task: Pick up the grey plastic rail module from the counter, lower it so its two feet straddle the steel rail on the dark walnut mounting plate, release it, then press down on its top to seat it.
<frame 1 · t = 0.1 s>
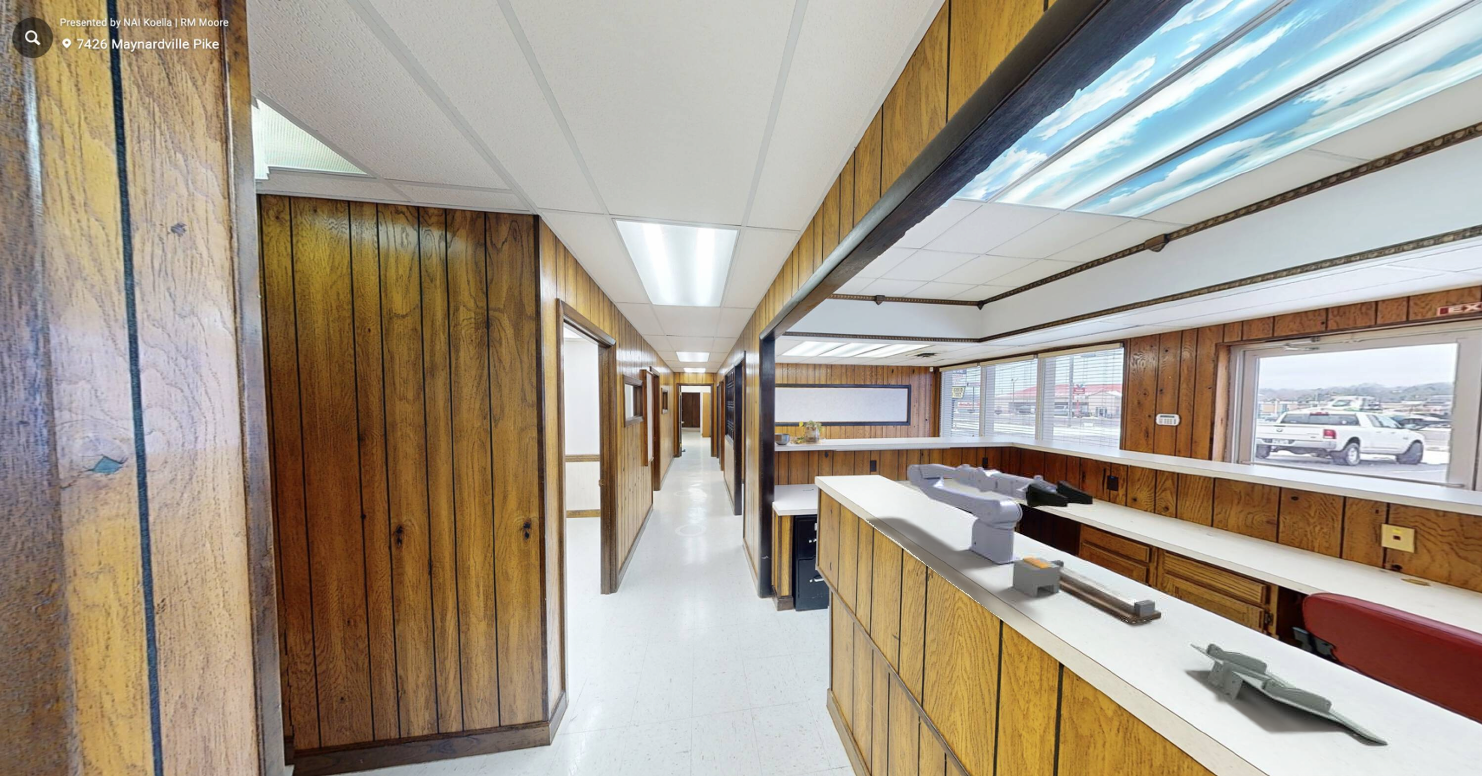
hand: (1079, 501, 84), 22 cm above the counter, tool horizontal, fingers open, 7 cm apart
din rail: (1095, 585, 85), on the mounting plate, point 2 cm above the counter
rail module: (1035, 589, 87), on the counter
metal bracket: (1265, 697, 59), on the counter
mounting plate: (1094, 595, 86), on the counter
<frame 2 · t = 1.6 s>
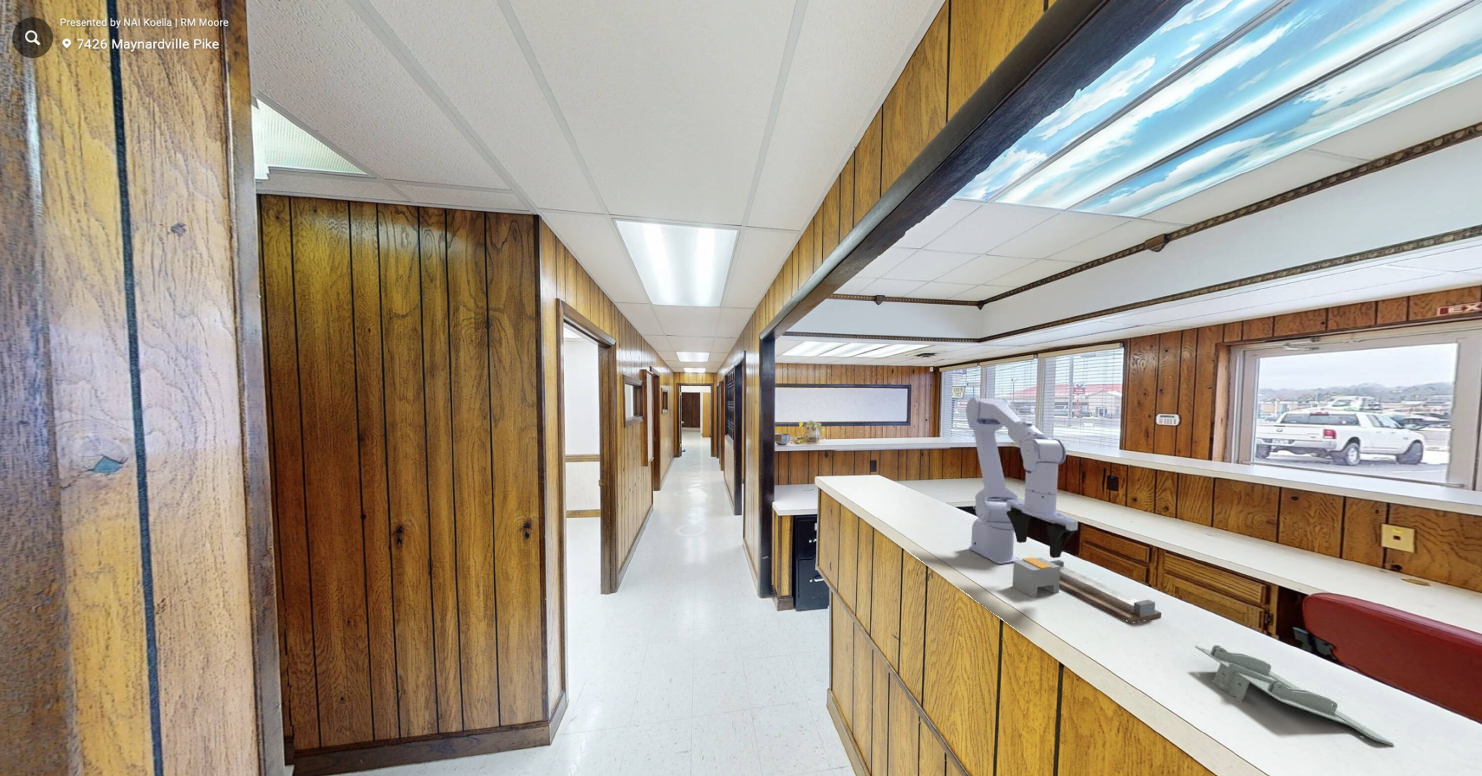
hand: (1037, 549, 87), 9 cm above the counter, tool pointing down, fingers open, 7 cm apart
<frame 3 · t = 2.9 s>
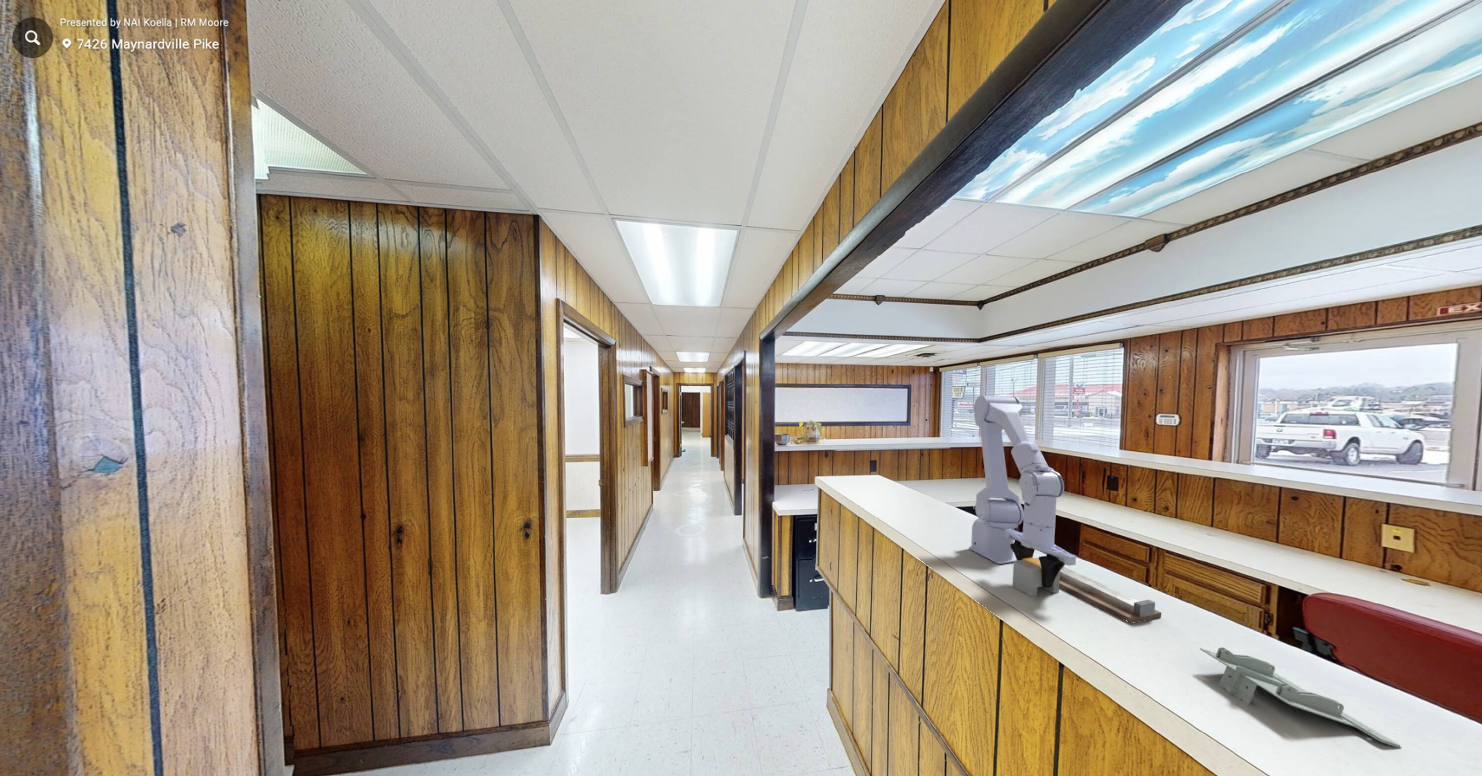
hand: (1035, 581, 87), 2 cm above the counter, tool pointing down, fingers closed on rail module, 4 cm apart
rail module: (1035, 589, 87), on the counter, touching gripper
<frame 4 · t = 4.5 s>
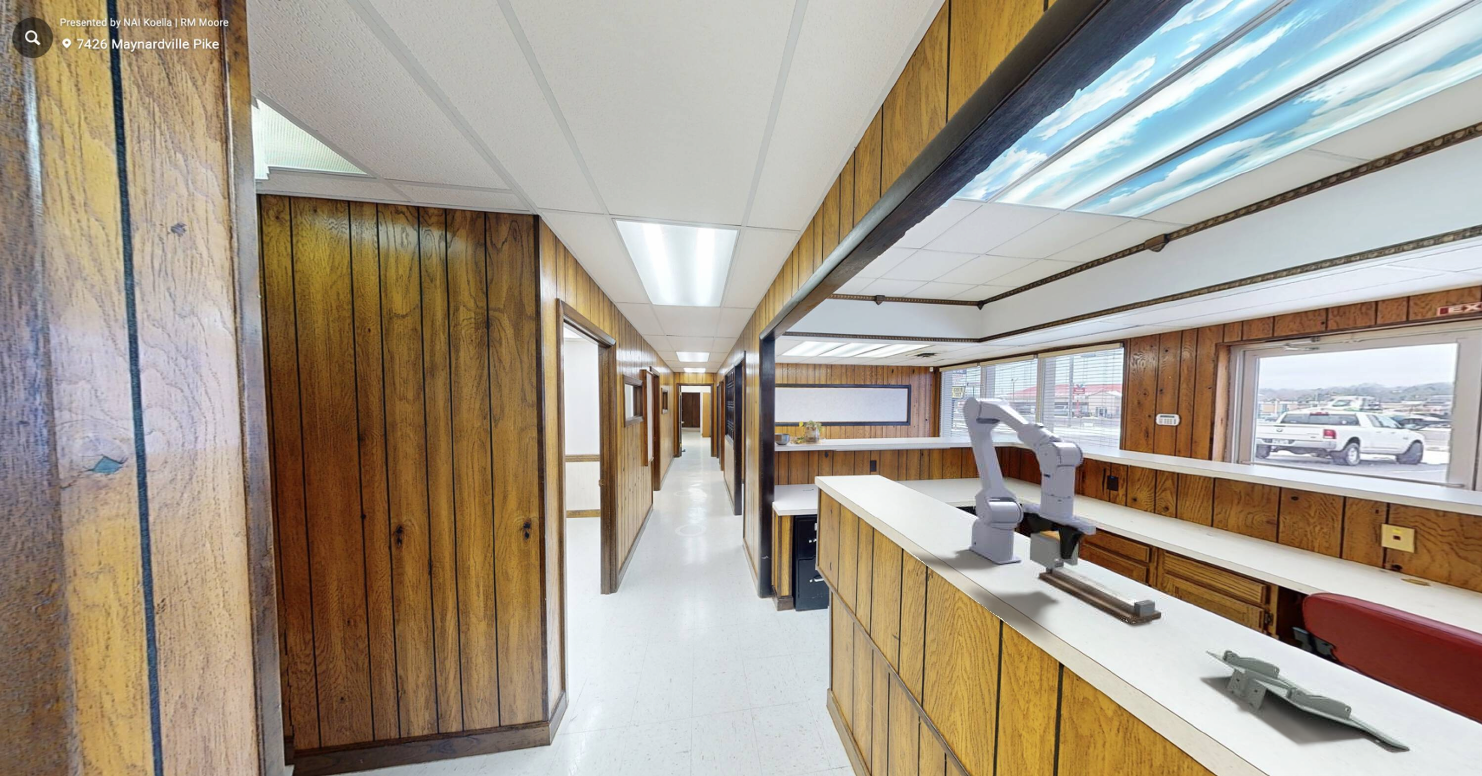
hand: (1054, 553, 86), 9 cm above the counter, tool pointing down, fingers closed on rail module, 4 cm apart
rail module: (1053, 562, 86), point 7 cm above the counter, touching gripper
when the fingers open (4 cm above the counter, at t = 6.4 s): rail module stays where it is, resting on mounting plate.
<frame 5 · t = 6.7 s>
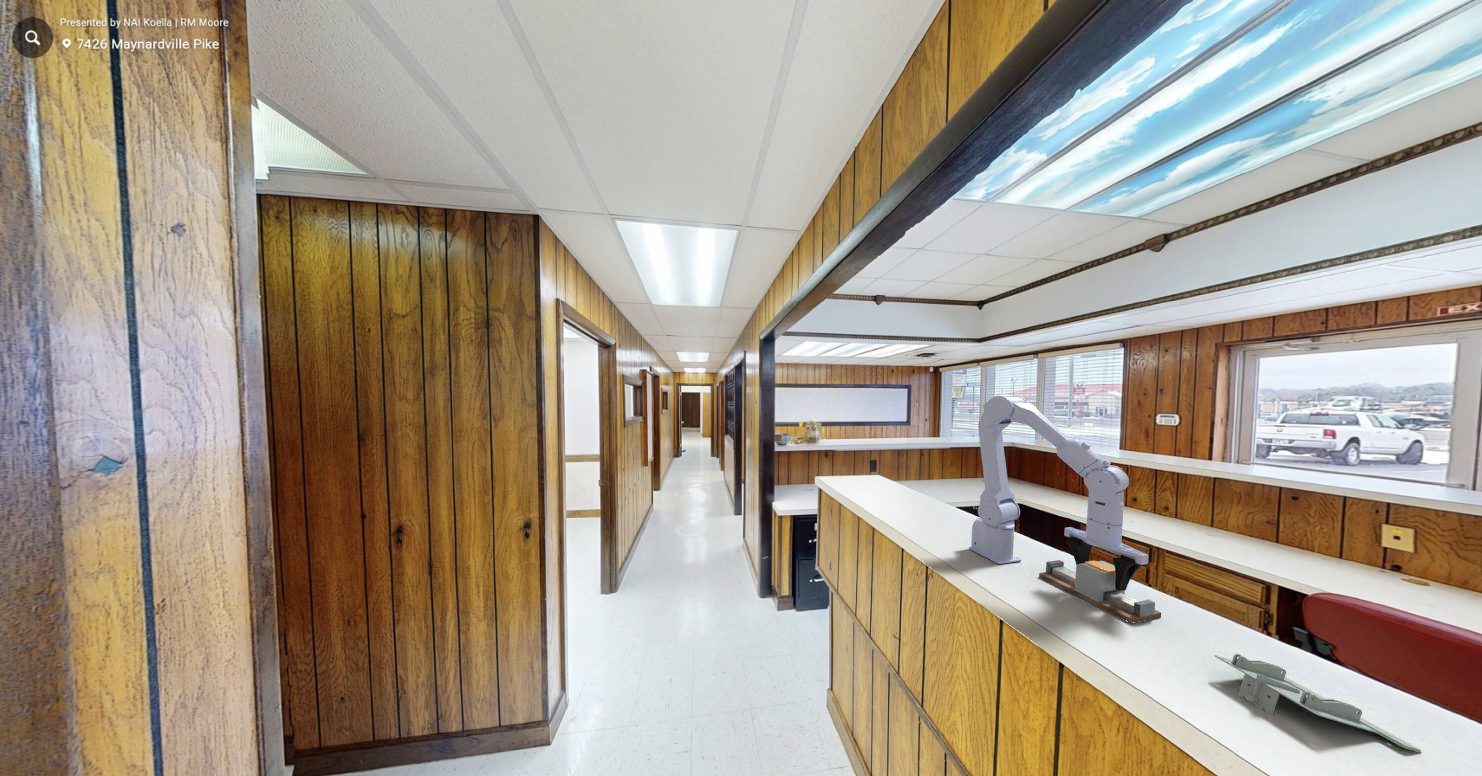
hand: (1100, 580, 84), 4 cm above the counter, tool pointing down, fingers open, 7 cm apart
rail module: (1099, 593, 84), point 1 cm above the counter, touching mounting plate
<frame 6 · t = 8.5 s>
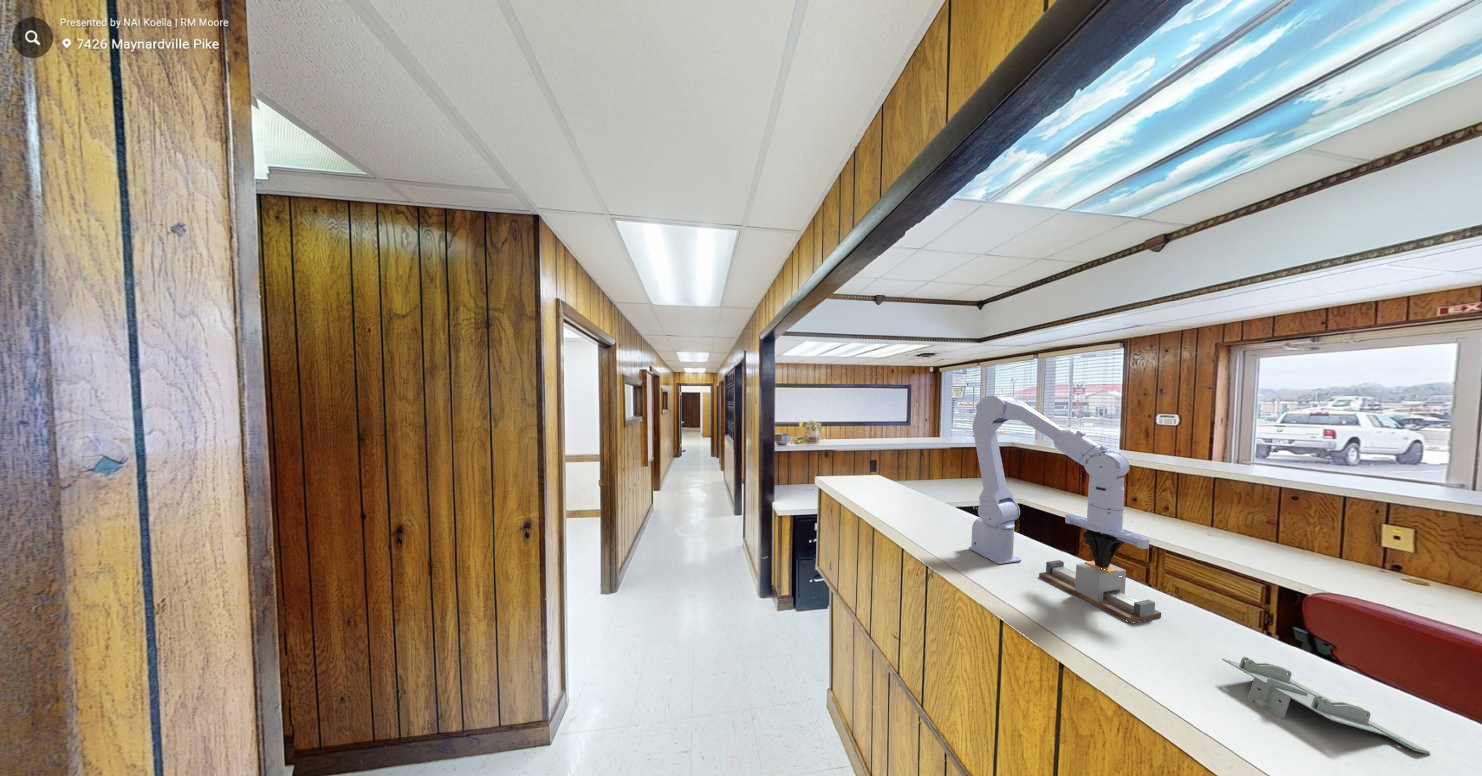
hand: (1102, 566, 84), 7 cm above the counter, tool pointing down, fingers closed, pressing on rail module
rail module: (1099, 593, 84), point 1 cm above the counter, touching gripper, mounting plate
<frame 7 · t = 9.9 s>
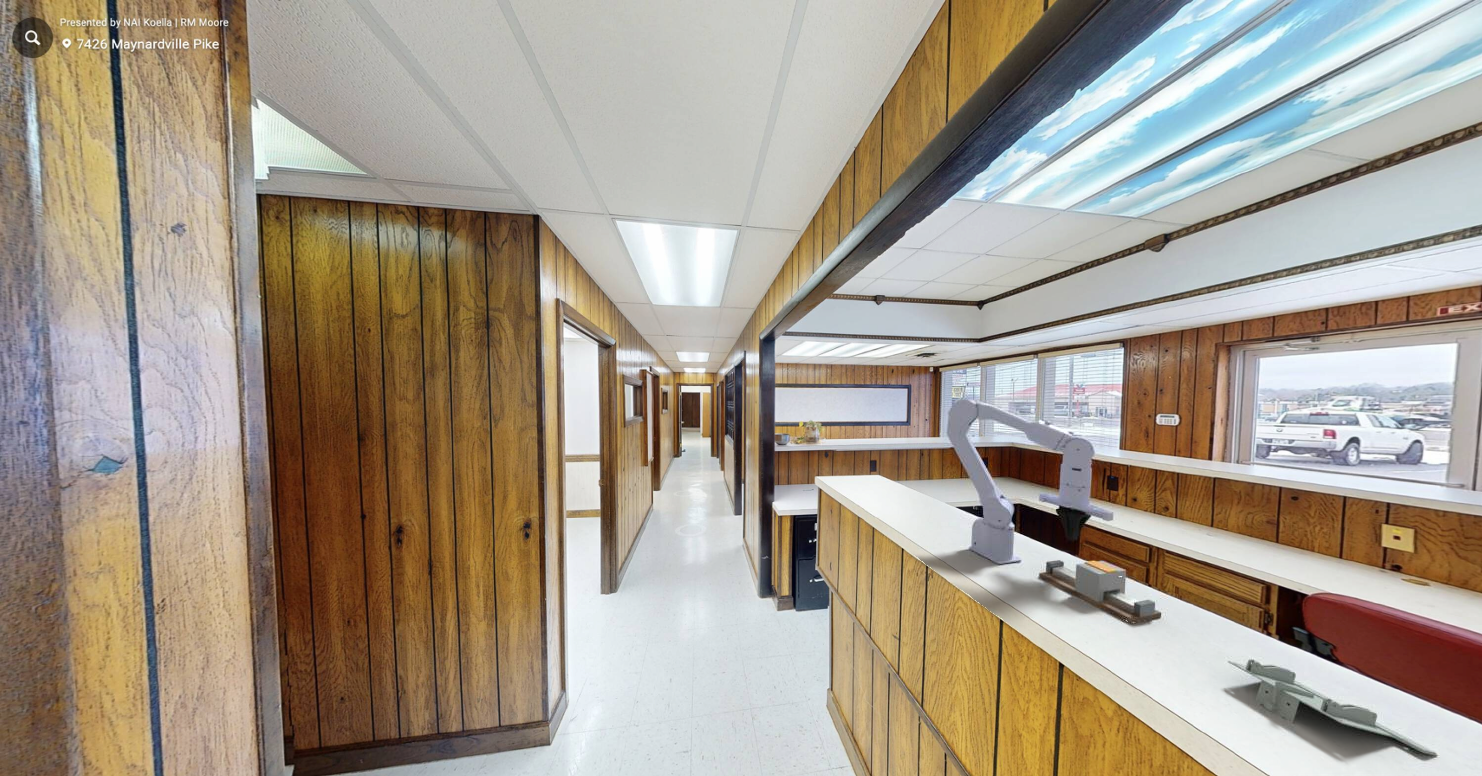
hand: (1071, 539, 94), 9 cm above the counter, tool pointing down, fingers closed
rail module: (1099, 593, 84), point 1 cm above the counter, touching mounting plate
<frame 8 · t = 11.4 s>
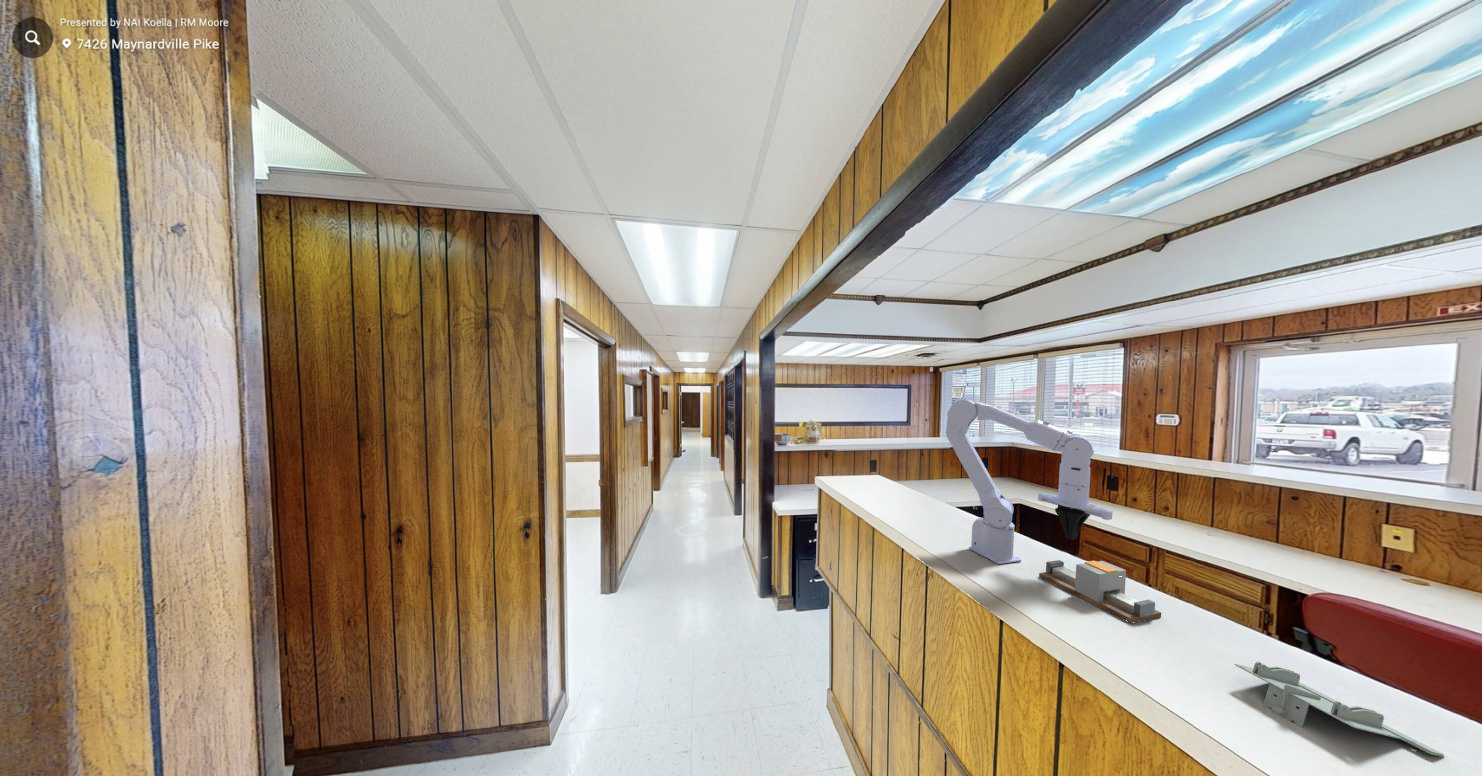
hand: (1070, 538, 94), 9 cm above the counter, tool pointing down, fingers closed
at the end: rail module inside the target area on the mounting plate (0.2 cm from its centre), point 1.0 cm above the mounting plate's base; rail module tilted 0°; the gripper is holding nothing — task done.
